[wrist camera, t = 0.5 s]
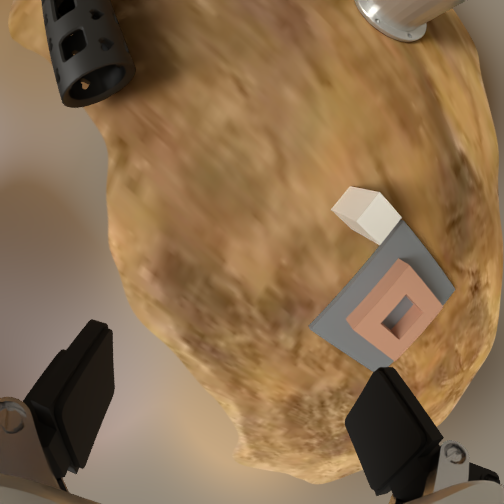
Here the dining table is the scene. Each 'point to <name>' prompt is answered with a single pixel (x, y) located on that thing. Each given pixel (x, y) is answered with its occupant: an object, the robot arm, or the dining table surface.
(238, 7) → the dining table surface
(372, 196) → the plug
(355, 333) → the socket board
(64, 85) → the muzzle brake
